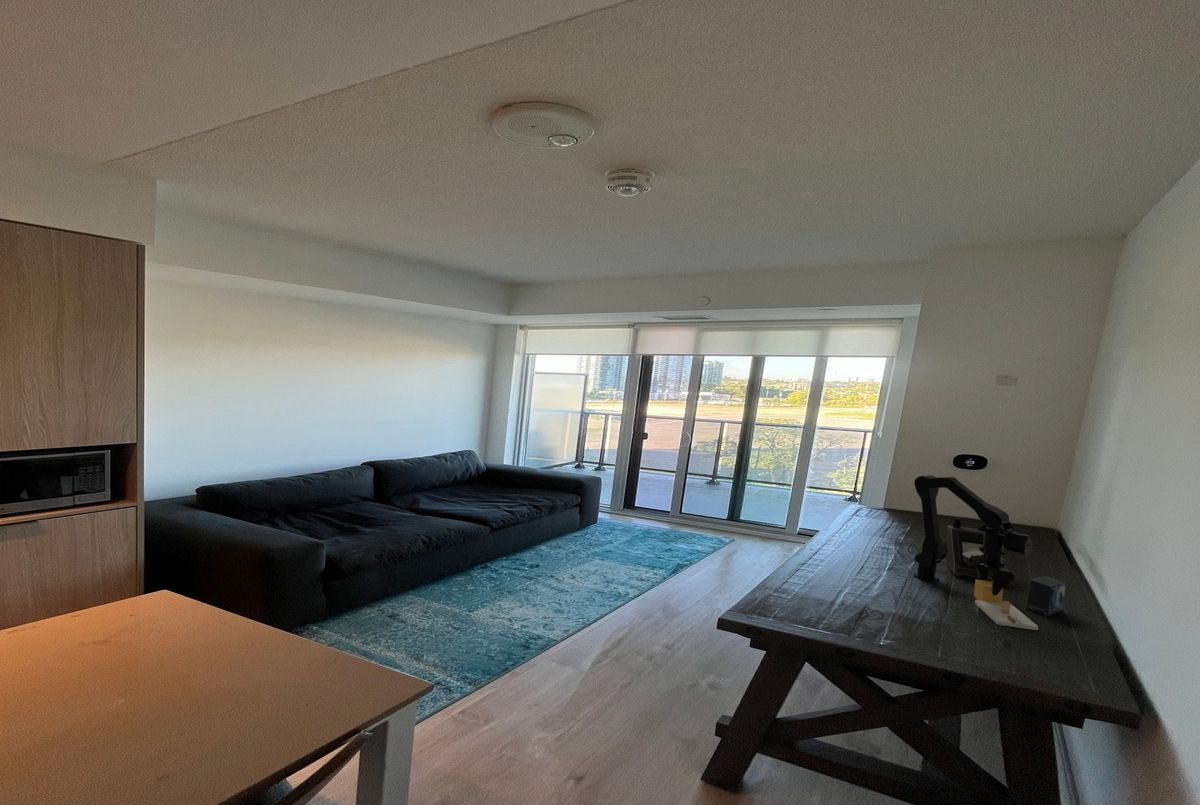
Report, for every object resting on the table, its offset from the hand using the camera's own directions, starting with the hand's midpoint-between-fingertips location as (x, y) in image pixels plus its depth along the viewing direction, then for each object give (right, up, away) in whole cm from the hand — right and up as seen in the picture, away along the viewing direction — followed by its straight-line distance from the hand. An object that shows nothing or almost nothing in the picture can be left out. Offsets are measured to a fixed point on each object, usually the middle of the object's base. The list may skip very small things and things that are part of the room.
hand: (988, 589), depth 186 cm
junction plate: (-3, -5, -11) cm, 13 cm away
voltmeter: (+13, -3, +26) cm, 29 cm away
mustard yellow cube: (0, -4, 0) cm, 4 cm away
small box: (+15, -5, -5) cm, 17 cm away
